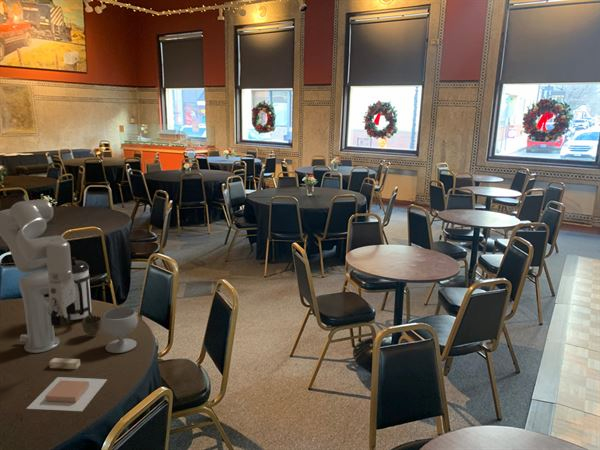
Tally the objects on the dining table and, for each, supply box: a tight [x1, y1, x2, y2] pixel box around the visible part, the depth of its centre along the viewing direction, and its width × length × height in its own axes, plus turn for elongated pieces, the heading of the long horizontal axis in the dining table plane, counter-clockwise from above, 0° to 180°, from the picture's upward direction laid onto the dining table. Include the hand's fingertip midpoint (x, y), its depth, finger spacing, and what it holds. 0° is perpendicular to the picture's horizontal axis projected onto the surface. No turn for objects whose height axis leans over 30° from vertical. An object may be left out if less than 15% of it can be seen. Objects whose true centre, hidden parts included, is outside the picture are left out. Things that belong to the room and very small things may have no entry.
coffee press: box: [61, 256, 93, 325], centre depth 205 cm, size 17×16×30 cm
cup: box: [81, 315, 102, 338], centre depth 192 cm, size 8×7×8 cm
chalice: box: [100, 307, 139, 354], centre depth 183 cm, size 14×14×15 cm
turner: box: [48, 357, 81, 370], centre depth 166 cm, size 17×5×4 cm, turn 89°
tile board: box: [25, 376, 108, 412], centre depth 150 cm, size 18×18×2 cm
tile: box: [45, 380, 89, 402], centre depth 149 cm, size 10×2×9 cm
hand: (64, 319), depth 162 cm, fingers open, 9 cm apart
